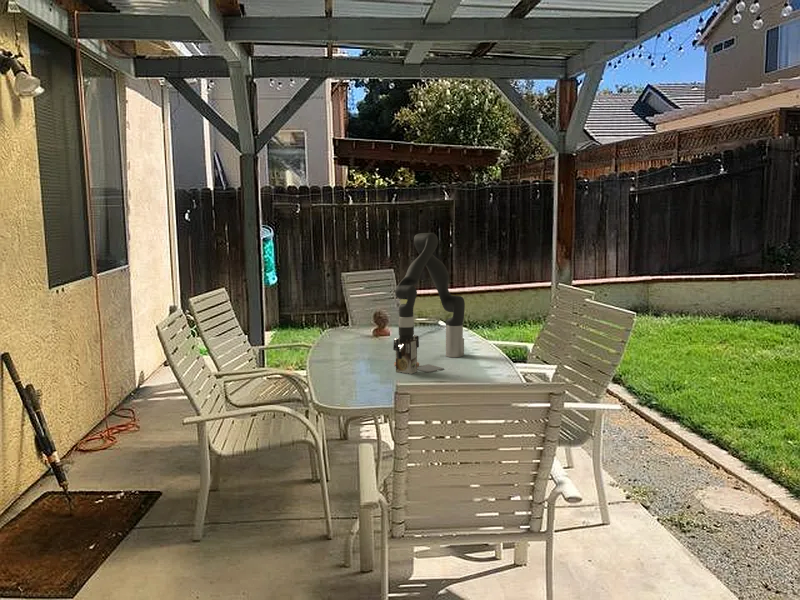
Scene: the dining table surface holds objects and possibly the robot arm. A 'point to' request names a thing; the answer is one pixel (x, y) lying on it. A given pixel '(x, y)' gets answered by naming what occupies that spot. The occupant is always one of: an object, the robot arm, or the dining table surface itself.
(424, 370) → the rubber mat
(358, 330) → the dining table surface
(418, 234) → the robot arm
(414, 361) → the coffee box
